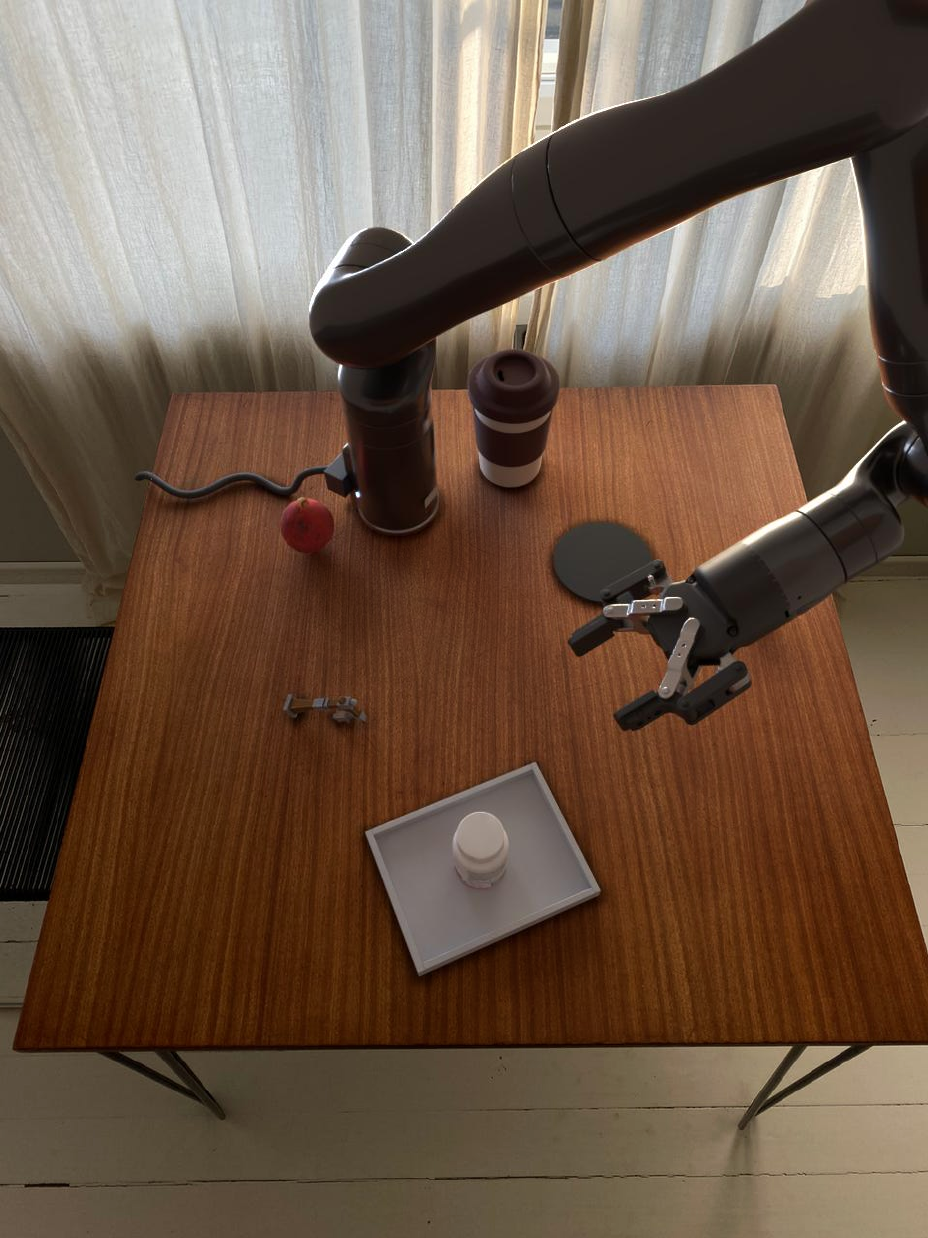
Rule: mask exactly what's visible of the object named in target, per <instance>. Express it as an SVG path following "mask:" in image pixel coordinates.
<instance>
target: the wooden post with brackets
mask: <svg viewBox="0 0 928 1238" xmlns="http://www.w3.org/2000/svg"><path fill="white" fill-rule="evenodd" d="M357 704H358V701H357V699H355V698H353V697H352V696H350V695H349V696H339V697H338V698H330V697H320V698H316V697H315V698H314V699H302V698H296V697H295V696H294V695H293V694H289V693H288V694H287V697H286V700H285V703H284V704H283V705H284V706H283V708H282V711H284V712H285V713H286V714H287V715H288V716H290V717H291V718H292V719H294V718H297V716H298V714H299V713H300V714H301V713H304V712H309V711H317V712H321V711H324V712H327V711H328V712H330V711H331V712H332V710H335V709H336V711H335V713H332V714H333V715H332V719H334V720H336V721H337V722H338V723H342V722H346V723H347V724H349V723H350V720H353V719H356V721H359V722H360V723H361V724H367V723H368V720H369V716H367V715H366V713H365V712H364V711H362V710H360V709H359V708H358V707H357ZM338 709H339V710H338Z"/></svg>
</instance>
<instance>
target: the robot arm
mask: <svg viewBox="0 0 928 1238" xmlns="http://www.w3.org/2000/svg"><path fill="white" fill-rule="evenodd" d="M845 160H849V161H850V164H851V169H852V173H853V178H854V182H855V187H856V193H857V200H858V206H859V213H860V222H861V232H862V246H863V259H864V275H865V276H864V277H865V289H866V301H867V302H866V303H867V313H868V321H869V328H870V334H871V340H872V344H873V349H874V353H875V358H876V363H877V367H878V372H879V376H880V380H881V385H882V389H883V393H884V396H885V398H886V402H887V403H888V405H889V407H890V409H891V410H892V411H893V413H895V414H896V415H897V416H898V417H899V418H900V419H901V420H902V421H900V422H899V423H898V424H896V425H895V426H893V427H892V428H891V429H890V430H889V431H888V432H886V433H885V434H884V435H883V436H882V437H881V438H880V439H879V441H877V442H876V444H874V446H872V447H871V448H870V450H869V451H868V452H867V453H866V454H865V455H864V456H862V458H861V459H859V461H857V462H856V464H854V466H853V467H852V468H851V469H850V470H849V471H848V472H847V473H846V475H845V476H844V477H842V479H841V480H840V481H839V482H838V483H837V484H836V485H834V486H833V487H832V488H829V489H827V490H826V491H824V492H823V493H820V494H819V495H817V496H816V497H814V498H813V499H811V500H810V501H808V502H806V503H805V504H803V505H801V506H800V507H798V508H796V509H795V510H794V511H792V512H790V513H788V514H786V515H784V516H781V517H780V518H778V519H775V520H772V521H771V522H769V523H766V524H765V525H763V526H761V527H760V528H758V529H756V530H755V531H754V532H752V533H750V534H749V535H747V536H745V537H743V538H742V539H740V540H739V541H737V542H736V543H734V544H732V545H730V546H729V547H728V548H726V549H724V550H722V551H721V552H720V553H718V554H716V555H715V556H713V557H711V558H710V559H708V560H706V561H705V562H703V563H702V564H700V565H698V566H697V567H696V568H695V569H694V570H693V571H692V573H691V574H690V576H688V577H687V578H686V579H683V580H680V581H675V582H674V581H673V579H672V578H671V576H670V574H669V572H668V569H667V568H666V565H665V563H664V561H663V560H661V559H654V560H653V561H652V562H651V563H649V564H647V565H645V566H644V567H642V568H640V569H638V570H636V571H635V572H633V573H631V574H629V575H628V576H626V577H624V578H622V579H620V580H619V581H617V582H615V583H613V584H611V585H610V586H608V587H606V588H604V589H603V590H602V591H601V593H600V596H601V598H602V601H603V604H602V606H603V609H602V611H601V613H600V614H599V615H597V616H595V617H594V618H592V619H591V620H589V621H588V622H586V623H585V624H582V625H581V626H579V627H578V628H576V629H575V630H574V631H573V632H572V633H571V636H570V637H569V638H568V640H567V644H568V645H569V647H570V648H571V650H572V651H573V653H574V655H575V656H576V657H577V658H582V657H584V656H585V655H587V654H589V653H590V652H592V651H594V650H595V649H596V648H598V647H600V646H601V645H603V644H605V643H606V642H608V641H609V640H611V639H612V638H614V637H615V636H616V635H615V633H634V632H635V633H638V634H639V635H642V636H645V635H647V636H648V635H649V636H650V637H651V639H652V640H653V642H654V643H655V645H656V646H657V647H659V648H660V649H661V650H662V652H663V654H664V656H665V658H666V660H667V664H666V672H665V675H664V677H663V678H662V681H661V683H660V685H659V688H658V689H657V691H655V690H654V688H652V689H650V690H649V691H647V692H645V693H644V694H642V695H640V696H639V697H637V698H635V699H634V700H632V701H630V702H629V703H627V704H626V705H624V706H622V707H621V708H619V709H617V710H616V711H615V712H614V713H613V714H612V716H613V719H614V720H615V722H616V723H617V725H618V726H619V728H620V730H621V731H622V732H627V731H629V730H630V731H631V732H636V731H639V730H641V729H643V728H644V727H646V726H647V725H650V724H651V723H653V722H655V721H656V720H658V719H659V718H661V717H663V716H665V715H666V714H675V715H676V716H677V717H679V718H681V719H682V720H684V722H685V723H686V724H687V725H688V726H695V725H697V724H699V723H700V722H701V721H703V720H704V719H706V718H707V717H709V716H710V715H712V714H713V713H714V712H716V711H718V710H719V709H720V708H722V707H723V706H725V705H726V704H728V703H729V702H731V701H733V700H734V699H735V698H737V697H738V696H740V695H741V694H743V693H744V692H746V691H747V690H749V689H750V688H751V687H752V685H753V680H752V678H751V674H750V672H749V668H748V667H747V665H746V663H745V662H744V661H742V660H738V659H737V658H736V657H735V656H734V655H735V653H737V651H738V650H740V649H742V648H747V647H750V646H752V645H754V644H756V643H757V642H759V641H760V640H762V639H763V638H765V637H767V636H768V635H770V634H772V633H773V632H775V631H777V630H779V629H780V628H781V627H783V626H785V625H787V624H788V623H790V622H791V621H793V620H795V619H796V618H798V617H800V616H802V615H805V614H806V613H807V612H808V611H810V610H811V609H814V608H815V607H816V606H818V605H819V604H821V603H823V602H824V601H825V600H826V599H827V598H829V597H830V596H831V595H832V594H834V593H835V592H836V591H837V590H839V589H840V588H841V587H843V586H844V585H846V584H848V583H849V582H851V581H853V580H854V579H856V578H858V577H859V576H861V575H863V574H864V573H866V572H867V571H869V570H871V569H873V568H874V567H876V566H878V565H879V564H881V563H883V562H884V561H886V560H887V559H889V558H890V557H891V556H893V555H894V554H896V552H897V551H899V550H900V549H901V547H902V545H903V543H904V541H905V535H906V533H905V527H904V521H903V519H902V518H901V515H900V514H899V511H898V509H899V508H900V507H901V506H902V505H903V504H905V503H906V502H908V501H910V500H914V501H916V502H917V503H919V504H920V505H922V506H923V507H926V508H927V509H928V0H805V3H804V4H803V7H801V8H800V9H799V10H798V11H796V12H795V13H794V14H793V15H792V16H791V17H789V18H788V19H787V20H785V21H783V22H782V23H781V24H780V25H779V26H777V27H776V28H774V29H773V30H772V31H770V32H768V34H765V36H763V37H762V38H760V39H758V40H757V41H756V42H754V43H753V44H752V45H750V46H749V47H747V48H745V49H744V50H742V51H741V52H739V53H738V54H736V55H734V56H733V57H731V58H729V59H727V60H726V61H725V62H724V63H722V64H720V65H719V66H717V67H716V68H714V69H712V70H711V71H709V72H708V73H706V74H704V75H702V76H700V77H698V78H697V79H695V80H693V81H691V82H688V83H686V84H684V85H682V86H680V87H678V88H676V89H673V90H670V91H668V92H665V93H661V94H658V95H654V96H650V97H647V98H643V99H638V100H634V101H629V102H626V103H621V104H617V105H614V106H610V107H607V108H603V109H601V110H598V111H595V112H592V113H589V114H587V115H584V116H582V117H580V118H578V119H575V120H573V121H572V122H570V123H567V124H566V125H564V126H561V127H560V128H559V129H557V130H555V131H553V132H552V133H550V134H548V135H546V136H545V137H543V138H541V139H540V140H538V141H536V142H535V143H533V144H531V145H529V146H528V147H525V148H524V149H522V150H521V151H519V152H518V153H516V154H515V155H513V156H512V157H510V158H509V159H507V160H506V161H505V162H502V164H500V165H499V166H497V167H496V168H495V169H494V170H493V171H491V172H490V173H489V174H488V175H487V176H486V177H484V178H483V179H482V180H481V181H480V182H478V183H477V185H475V186H474V187H473V188H472V189H471V190H470V191H469V192H468V193H467V194H466V195H465V196H464V197H463V198H462V199H460V201H458V202H457V203H456V204H455V205H454V206H453V207H452V208H451V209H450V210H449V211H448V212H447V213H446V214H445V215H444V216H443V217H442V218H441V219H440V220H439V221H438V222H437V223H436V224H435V225H434V226H432V227H431V229H429V230H428V232H426V233H425V234H424V235H423V236H422V237H420V238H419V239H418V240H417V241H415V242H413V240H411V239H410V238H409V237H408V236H406V235H404V234H403V233H402V232H399V231H397V230H394V229H392V228H388V227H382V226H373V227H372V226H371V227H366V228H363V229H361V230H359V231H357V232H355V233H354V234H352V235H351V236H349V238H348V239H347V240H346V241H345V242H344V244H343V245H342V246H341V248H340V249H339V251H338V253H337V254H336V256H335V257H334V259H332V262H331V263H330V264H329V266H328V268H327V269H326V270H325V272H324V274H323V276H322V277H321V278H320V280H319V282H318V283H317V285H316V287H315V289H314V292H313V294H312V297H311V299H310V303H309V308H308V318H307V319H308V328H309V332H310V335H311V338H312V340H313V342H314V344H315V345H316V347H317V348H318V350H319V351H320V352H321V353H322V354H323V355H324V356H325V357H327V358H328V359H329V360H331V361H332V362H334V363H336V364H338V365H339V366H338V371H337V376H336V382H337V383H336V385H337V393H338V397H339V402H340V408H341V414H342V419H343V424H344V430H345V436H346V442H347V443H346V444H345V445H344V446H343V447H342V450H341V452H340V454H339V455H337V457H336V458H335V459H334V460H333V461H332V462H331V463H330V464H329V465H318V466H312V467H308V468H306V469H303V470H301V471H300V472H298V474H297V475H296V476H295V478H294V480H293V482H292V484H291V485H290V486H286V487H284V486H280V485H278V484H276V483H273V482H272V481H270V480H269V479H268V478H265V477H264V476H261V475H260V474H256V473H252V472H237V473H232V474H229V475H227V476H224V477H222V478H220V479H218V480H216V481H214V482H213V483H211V484H208V485H206V486H203V487H202V488H198V489H195V490H194V489H193V490H184V489H183V490H182V489H179V488H176V487H174V486H172V485H170V484H169V483H167V482H166V481H164V480H163V479H162V478H160V477H159V476H157V475H156V474H154V473H153V472H151V471H145V470H144V471H140V472H138V473H137V474H135V475H134V481H137V482H141V481H143V480H147V481H150V482H151V483H153V484H154V485H155V486H157V487H158V488H159V489H161V490H163V491H164V492H165V493H167V494H169V495H171V496H173V497H175V498H179V499H185V500H195V499H199V498H203V497H205V496H208V495H210V494H212V493H214V492H216V491H218V490H220V489H222V488H224V487H226V486H228V485H230V484H234V483H236V482H241V481H243V482H244V481H249V482H253V483H255V484H256V483H257V484H258V485H260V486H261V487H264V488H266V489H267V490H269V491H271V492H272V493H275V494H276V495H280V496H290V495H293V494H296V493H297V492H298V491H299V490H300V488H301V486H302V484H303V482H304V481H305V479H307V478H309V477H312V476H316V475H317V476H318V475H324V480H325V483H326V484H325V485H326V488H327V490H328V491H330V492H332V493H334V494H336V495H338V496H341V497H342V498H345V499H346V498H347V497H348V496H349V497H350V503H351V506H352V508H354V509H355V510H357V511H358V513H359V517H360V519H361V520H362V522H363V524H365V525H366V527H368V528H369V529H371V530H372V531H374V532H375V533H377V534H380V535H384V536H389V537H405V536H410V535H414V534H416V533H419V532H420V531H423V530H424V529H425V528H427V527H428V526H430V525H431V523H432V522H433V521H434V519H435V518H436V516H437V515H438V512H439V509H440V496H439V484H438V473H437V456H436V442H435V441H436V439H435V424H434V410H433V409H434V408H433V407H434V406H433V394H432V393H433V392H432V391H433V389H432V381H433V376H434V371H435V368H436V362H437V352H438V351H437V350H438V349H437V345H438V342H437V341H438V337H440V336H442V335H443V334H445V333H447V332H448V331H450V330H451V329H454V328H455V327H457V326H459V325H461V324H463V323H465V322H467V321H469V320H471V319H473V318H475V317H478V316H480V315H483V314H485V313H487V312H490V311H492V310H494V309H497V308H499V307H502V306H503V305H506V304H508V303H511V302H513V301H515V300H517V299H519V298H521V297H523V296H525V295H528V294H530V293H532V292H534V291H537V290H539V289H541V288H543V287H545V286H548V285H551V284H554V283H556V282H558V281H560V280H561V281H562V280H563V279H565V278H566V279H567V278H569V277H571V276H573V275H575V274H578V273H580V272H582V271H584V270H586V269H588V268H590V267H593V266H595V265H598V264H600V263H603V262H604V261H606V260H609V259H611V258H612V257H615V256H617V255H619V254H620V253H622V252H624V251H626V250H628V249H630V248H632V247H634V246H636V245H638V244H640V243H643V242H644V241H645V242H646V241H647V240H650V239H652V238H654V237H656V236H658V235H660V234H663V233H664V232H666V231H669V230H671V229H673V228H675V227H677V226H679V225H681V224H684V223H685V222H687V221H689V220H692V219H693V218H695V217H697V216H699V215H700V214H702V213H705V212H706V211H708V210H711V209H712V208H714V207H717V206H718V205H720V204H722V203H725V202H727V201H730V200H733V199H734V198H737V197H740V196H741V195H745V194H747V193H750V192H753V191H755V190H758V189H761V188H764V187H766V186H769V185H773V184H776V183H779V182H781V181H785V180H788V179H790V178H794V177H796V176H797V177H798V176H800V175H802V174H805V173H808V172H812V171H815V170H818V169H822V168H824V167H827V166H830V165H833V164H836V163H840V162H843V161H845ZM152 473H153V475H152ZM151 478H152V480H151ZM626 592H627V593H626ZM652 595H655V596H659V597H658V599H646V598H648V597H651V596H652ZM617 597H618V598H617ZM703 667H717V668H715V670H714V675H712V676H710V677H709V678H708V679H706V680H704V681H703V682H702V683H700V684H699V685H697V686H696V687H695V688H693V687H694V686H695V683H696V681H697V678H698V676H699V675H700V672H701V669H702V668H703ZM689 690H690V691H689Z"/></svg>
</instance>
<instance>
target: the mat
mask: <svg viewBox="0 0 928 1238" xmlns="http://www.w3.org/2000/svg"><path fill="white" fill-rule="evenodd" d="M552 556H553V557H552V563H553V570H554V573H555V575H556V577H557V579H558V581H559V582H560V583H561V584H562V586H563V587H564V588H565V590H567V591H568V592H569V593H571V594H572V595H574V596H575V597H577V598H579V599H582V600H583V601H585V602H589V603H594V604H600V605H603V601H602V598H601V596H600V593H601V591H602V590H603V589H604V588H606V587H608V586H610V585H611V584H613V583H615V582H617V581H619V580H620V579H622V578H624V577H626V576H628V575H629V574H631V573H633V572H635V571H636V570H638V569H640V568H642V567H644V566H645V565H647V564H649V563H651V562H652V561H654V560H653V555H652V553H651V550H650V548H649V546H648V545H647V544H646V542H645V541H644V539H642V537H641V536H639V535H638V534H637V533H635V532H634V531H632V530H631V529H629V528H627V527H625V526H623V525H620V524H618V523H617V524H616V523H613V522H606V521H592V522H587V523H582V524H580V525H577V526H575V527H573V528H571V529H570V530H568V531H567V532H566V533H564V534H563V535H562V536H561V538H560V539H559V540H558V542H557V544H556V545H555V548H554V550H553V555H552ZM626 593H627V592H626ZM617 598H618V597H617Z"/></svg>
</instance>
